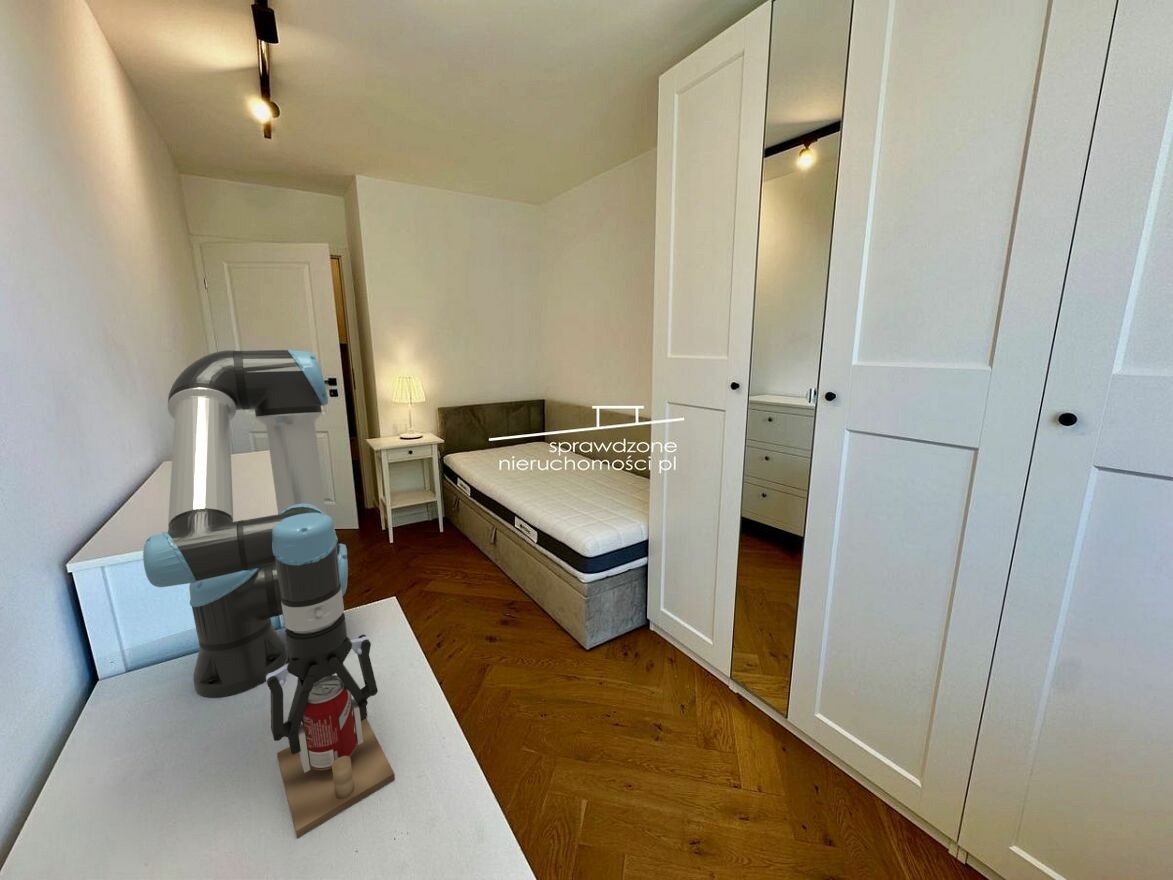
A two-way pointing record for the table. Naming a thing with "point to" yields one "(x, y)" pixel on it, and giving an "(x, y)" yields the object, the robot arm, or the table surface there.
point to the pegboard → (333, 782)
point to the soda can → (329, 723)
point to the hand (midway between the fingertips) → (332, 751)
